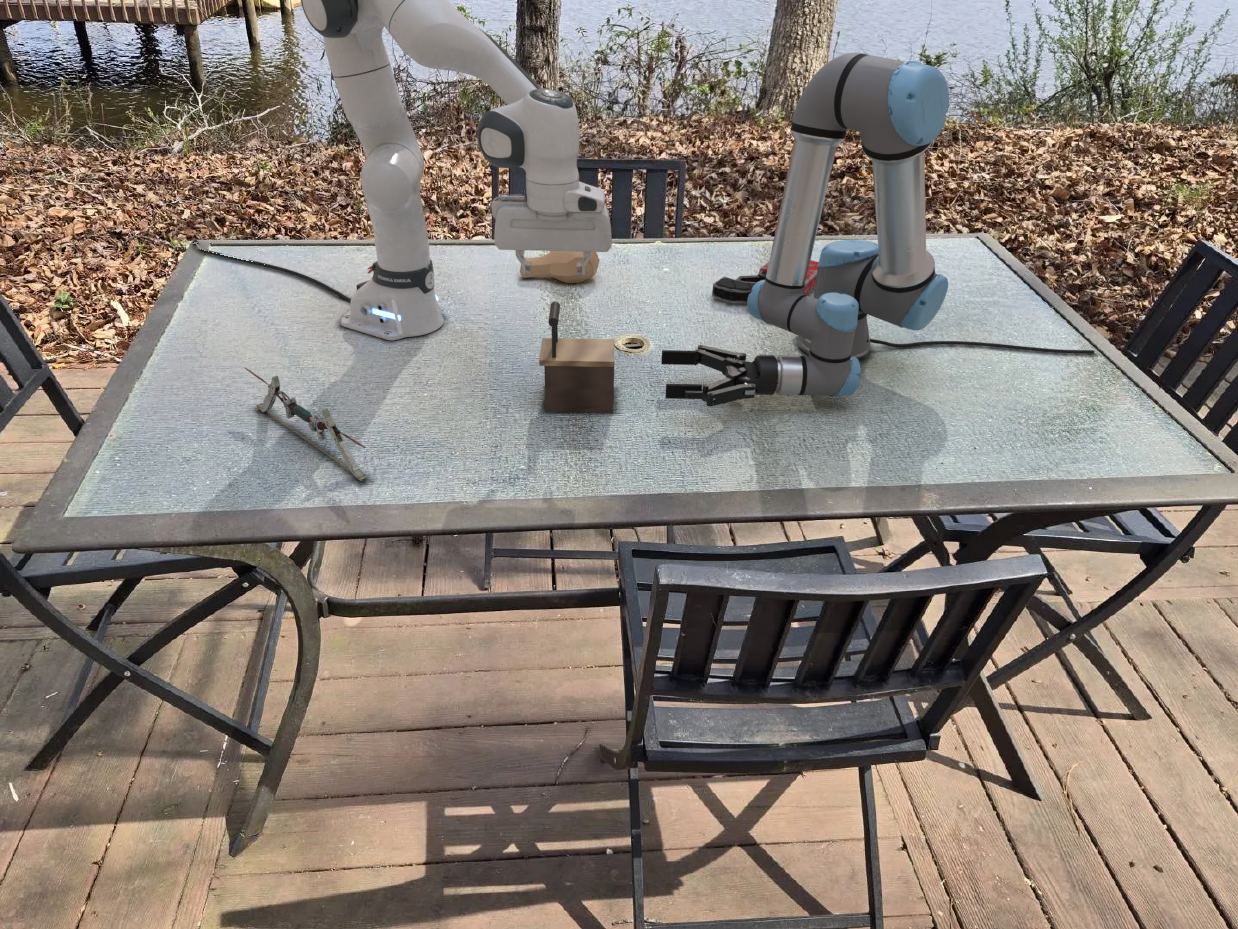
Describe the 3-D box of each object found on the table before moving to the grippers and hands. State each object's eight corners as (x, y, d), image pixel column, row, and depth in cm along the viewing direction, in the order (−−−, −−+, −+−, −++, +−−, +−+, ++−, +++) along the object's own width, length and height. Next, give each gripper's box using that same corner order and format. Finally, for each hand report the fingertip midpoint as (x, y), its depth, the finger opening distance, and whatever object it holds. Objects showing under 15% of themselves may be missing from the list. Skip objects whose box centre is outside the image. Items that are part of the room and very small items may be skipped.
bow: (377, 484, 144) (369, 432, 138) (368, 488, 143) (359, 436, 137) (258, 401, 165) (247, 353, 160) (249, 404, 164) (237, 356, 158)
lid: (539, 365, 159) (537, 320, 154) (542, 343, 167) (541, 298, 162) (614, 367, 160) (615, 321, 155) (614, 344, 168) (615, 300, 162)
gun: (708, 284, 207) (784, 305, 199) (760, 245, 229) (831, 262, 221) (706, 302, 209) (781, 323, 201) (758, 261, 231) (828, 278, 223)
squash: (601, 287, 216) (596, 255, 210) (521, 294, 218) (514, 262, 211) (602, 264, 224) (597, 232, 218) (524, 271, 225) (518, 240, 219)
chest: (545, 411, 165) (544, 366, 160) (548, 387, 173) (547, 343, 167) (613, 413, 165) (614, 367, 160) (613, 389, 173) (614, 344, 168)
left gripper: (488, 199, 144) (493, 279, 152) (612, 202, 144) (611, 281, 152) (492, 187, 149) (496, 265, 157) (612, 190, 150) (611, 268, 157)
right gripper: (784, 426, 158) (666, 424, 157) (763, 362, 178) (659, 361, 178) (789, 389, 154) (668, 388, 153) (767, 328, 174) (661, 327, 174)
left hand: (554, 273), depth 155 cm, fingers open, 8 cm apart
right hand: (663, 373), depth 165 cm, fingers open, 13 cm apart
